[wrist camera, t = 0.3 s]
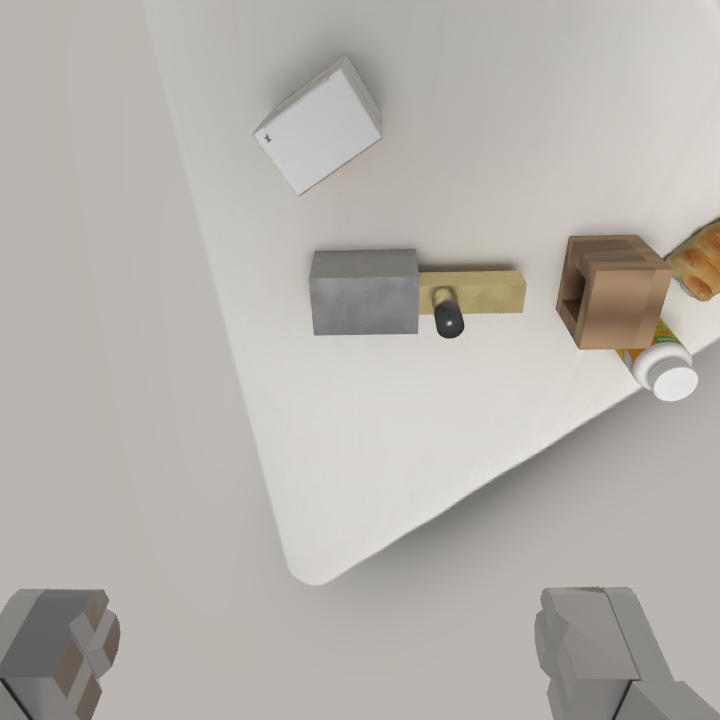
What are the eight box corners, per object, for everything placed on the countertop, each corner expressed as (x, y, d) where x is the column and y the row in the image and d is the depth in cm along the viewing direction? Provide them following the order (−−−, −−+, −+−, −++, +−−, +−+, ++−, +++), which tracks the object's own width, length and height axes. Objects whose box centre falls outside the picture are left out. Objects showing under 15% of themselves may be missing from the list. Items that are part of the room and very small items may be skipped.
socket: (569, 236, 55) (596, 271, 48) (636, 235, 54) (673, 269, 48) (556, 308, 59) (579, 349, 52) (618, 307, 59) (649, 348, 52)
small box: (308, 164, 51) (295, 200, 43) (270, 109, 49) (248, 135, 40) (382, 112, 49) (385, 139, 40) (346, 51, 46) (340, 66, 37)
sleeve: (314, 251, 56) (309, 278, 51) (415, 249, 56) (419, 276, 50) (319, 304, 59) (314, 335, 54) (413, 303, 59) (417, 333, 54)
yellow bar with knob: (314, 274, 55) (306, 314, 48) (519, 270, 54) (539, 310, 48) (316, 301, 57) (308, 343, 50) (515, 298, 56) (534, 340, 49)
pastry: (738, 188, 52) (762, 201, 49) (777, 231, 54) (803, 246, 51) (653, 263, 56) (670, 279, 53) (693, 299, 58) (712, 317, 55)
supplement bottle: (660, 303, 58) (706, 354, 50) (663, 344, 61) (707, 399, 53) (606, 318, 60) (643, 370, 51) (612, 358, 62) (648, 413, 54)
